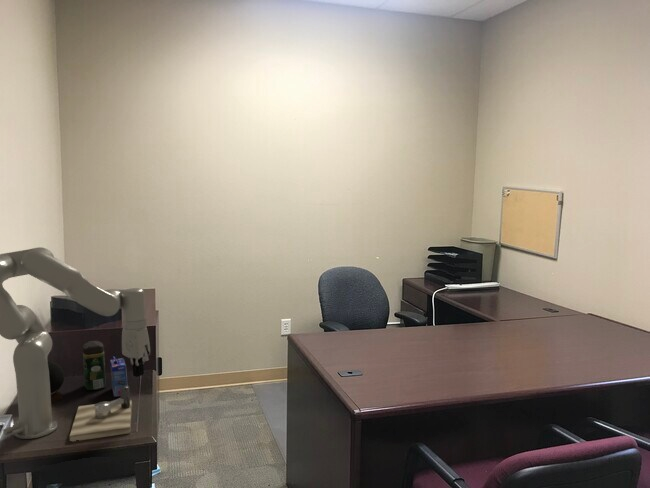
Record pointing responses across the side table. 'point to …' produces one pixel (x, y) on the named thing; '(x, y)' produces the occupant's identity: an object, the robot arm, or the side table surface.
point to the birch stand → (100, 423)
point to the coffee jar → (94, 365)
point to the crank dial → (113, 403)
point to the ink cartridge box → (118, 375)
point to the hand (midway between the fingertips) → (138, 375)
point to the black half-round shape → (55, 381)
